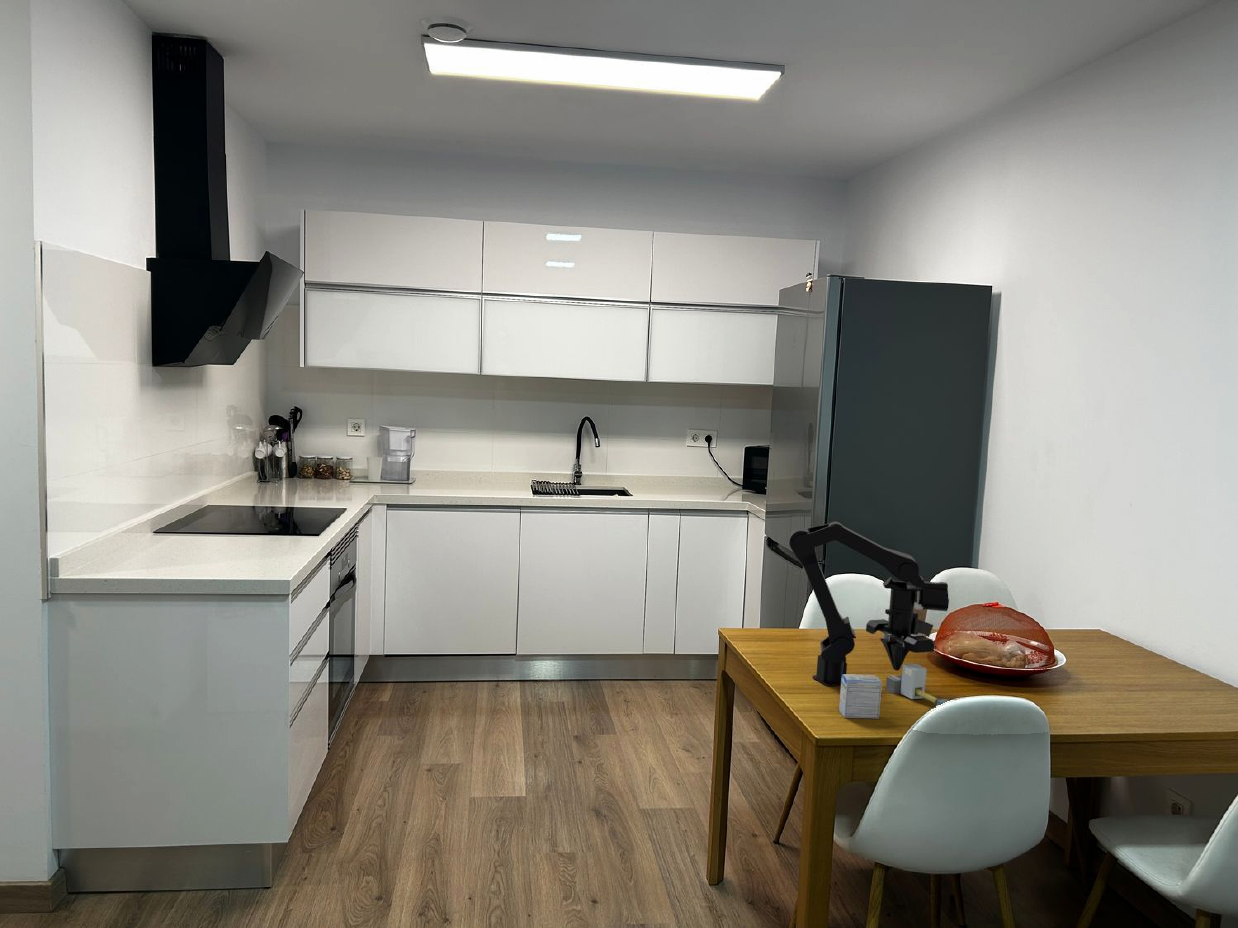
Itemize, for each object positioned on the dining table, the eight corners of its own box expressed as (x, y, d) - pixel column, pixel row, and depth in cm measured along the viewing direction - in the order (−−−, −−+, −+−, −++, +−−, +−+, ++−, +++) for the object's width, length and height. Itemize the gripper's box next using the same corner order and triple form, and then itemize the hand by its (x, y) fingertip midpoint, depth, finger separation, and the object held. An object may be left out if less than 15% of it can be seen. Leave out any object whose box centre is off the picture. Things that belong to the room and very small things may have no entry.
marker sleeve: (911, 699, 216) (914, 669, 215) (900, 693, 219) (902, 664, 218) (924, 697, 217) (926, 668, 216) (912, 691, 221) (915, 663, 220)
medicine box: (873, 712, 207) (876, 674, 206) (879, 719, 203) (882, 681, 202) (838, 710, 207) (841, 673, 206) (843, 718, 202) (846, 679, 201)
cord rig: (940, 718, 205) (941, 703, 205) (885, 689, 222) (886, 675, 222) (961, 716, 207) (962, 700, 207) (905, 687, 225) (906, 673, 224)
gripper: (955, 615, 216) (949, 680, 218) (903, 596, 234) (898, 655, 235) (917, 618, 212) (911, 683, 214) (867, 598, 229) (862, 659, 231)
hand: (896, 669), depth 223 cm, fingers closed
